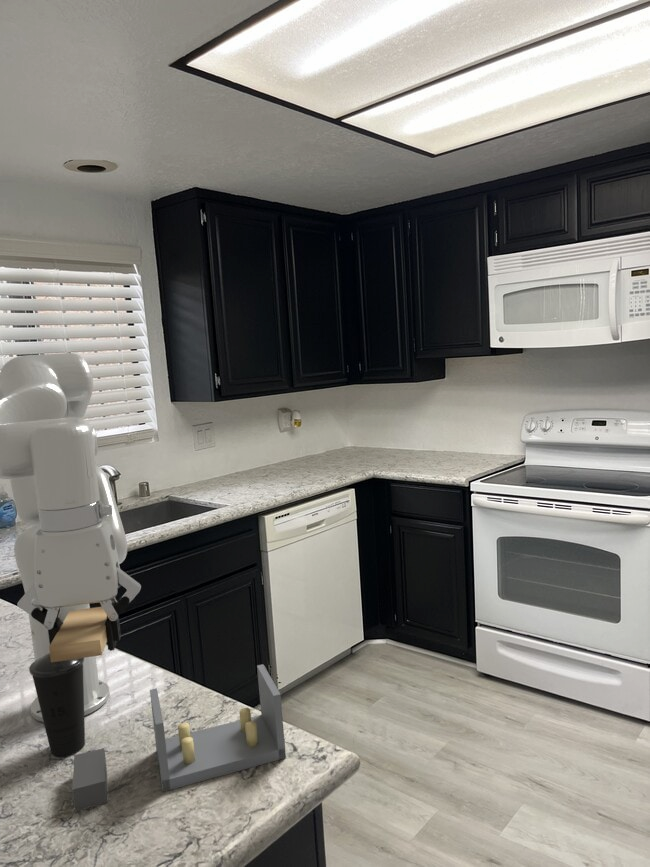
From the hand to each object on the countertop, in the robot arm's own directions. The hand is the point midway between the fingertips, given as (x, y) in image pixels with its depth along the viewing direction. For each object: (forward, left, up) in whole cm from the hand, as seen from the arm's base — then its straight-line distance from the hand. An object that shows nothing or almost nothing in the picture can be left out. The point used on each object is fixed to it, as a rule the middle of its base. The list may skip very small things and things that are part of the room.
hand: (86, 648), depth 86 cm
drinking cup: (-12, -5, -20) cm, 24 cm away
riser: (0, -2, -20) cm, 20 cm away
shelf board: (0, 0, +1) cm, 1 cm away
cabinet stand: (0, +16, -20) cm, 25 cm away
